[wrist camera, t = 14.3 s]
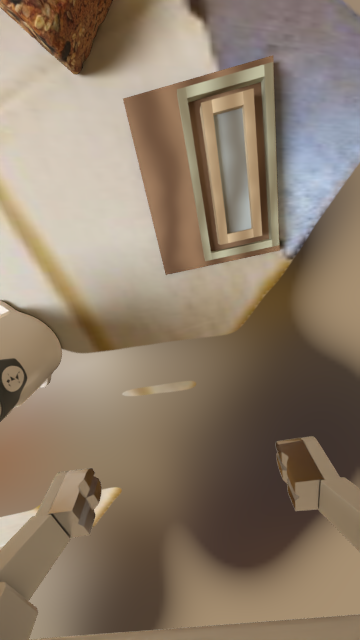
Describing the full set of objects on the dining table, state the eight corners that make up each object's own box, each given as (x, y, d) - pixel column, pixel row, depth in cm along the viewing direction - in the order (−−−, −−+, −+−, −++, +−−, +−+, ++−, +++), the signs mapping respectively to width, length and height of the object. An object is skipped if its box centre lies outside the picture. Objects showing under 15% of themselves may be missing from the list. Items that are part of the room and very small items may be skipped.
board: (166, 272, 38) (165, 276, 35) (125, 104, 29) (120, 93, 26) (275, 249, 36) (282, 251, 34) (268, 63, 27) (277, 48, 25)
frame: (218, 243, 34) (220, 244, 32) (199, 110, 28) (201, 102, 26) (257, 234, 34) (262, 235, 32) (248, 96, 27) (253, 88, 26)
